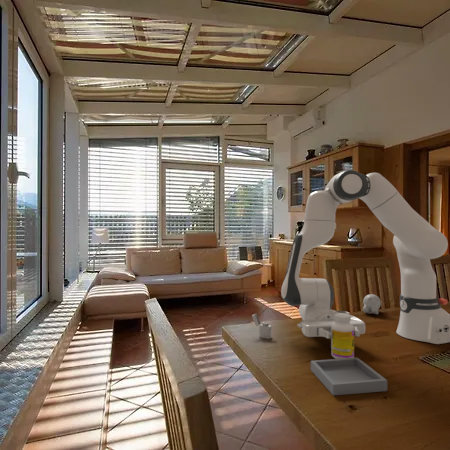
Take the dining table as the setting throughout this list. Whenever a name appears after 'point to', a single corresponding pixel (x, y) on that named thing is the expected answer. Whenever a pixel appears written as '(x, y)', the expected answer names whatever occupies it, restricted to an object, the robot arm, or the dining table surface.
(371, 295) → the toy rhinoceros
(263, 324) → the lighter
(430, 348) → the dining table surface
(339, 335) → the supplement bottle
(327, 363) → the tray
